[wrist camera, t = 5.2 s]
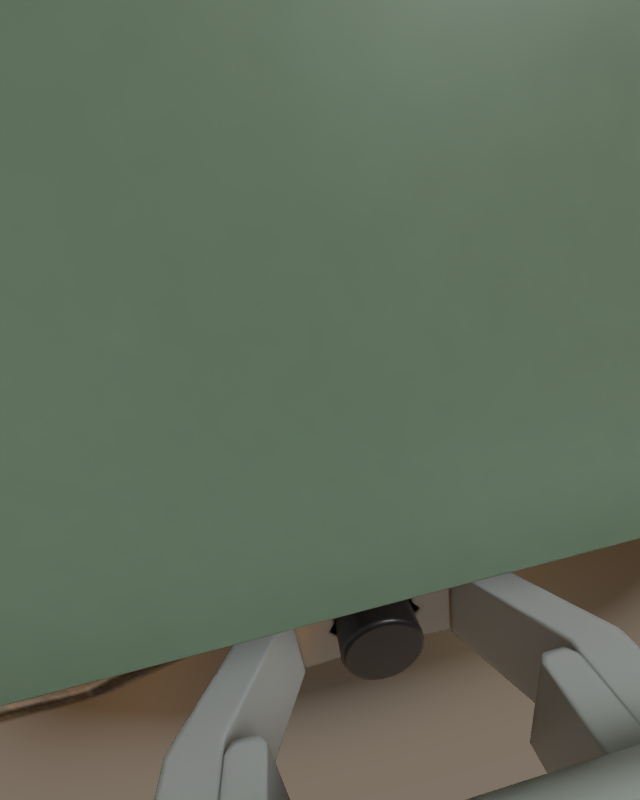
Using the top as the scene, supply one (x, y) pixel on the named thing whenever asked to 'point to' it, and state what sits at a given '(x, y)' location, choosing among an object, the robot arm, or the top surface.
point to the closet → (305, 313)
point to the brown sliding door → (380, 640)
